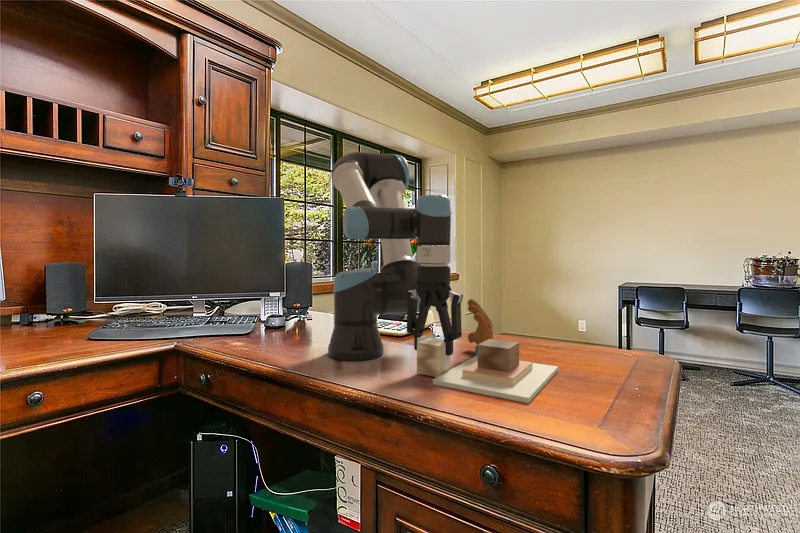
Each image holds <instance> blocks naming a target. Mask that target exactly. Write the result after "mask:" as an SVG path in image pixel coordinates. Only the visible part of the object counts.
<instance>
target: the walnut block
mask: <svg viewBox="0 0 800 533" xmlns="http://www.w3.org/2000/svg"><path fill="white" fill-rule="evenodd" d="M477 346H478V368H484V369H491V370H497V371H503V372H510V371H511V370H513V369H514V368H515V367H517V366H518V365H519V360H520V342H519V341H510V340H501V339H495V338H493V339H488V340H486V341H484V342H482V343H480V344H478V345H477Z"/></svg>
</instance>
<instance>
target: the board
mask: <svg viewBox="0 0 800 533" xmlns="http://www.w3.org/2000/svg"><path fill="white" fill-rule="evenodd" d="M558 372H559V366H557V365H550V364H545V363H537V362H532V361H527V360H526V361H525V360H520V359H519V365H518V366H517V367H515V368H514V369H513V370H511V371H510V372H503V371H497V370H491V369H484V368H478V355H474V356H473V357H471V358H469V359H467V360H466V361H464V362H462V363H461V364H458V365H457V366H455V367H453V368H450V370H449V371H447V372H445V373H444V374H442V375H440V376H438V377H434V378H433V379H432V385H435V386H440V387H445V388H449V389H455V390H460V391H466V392H471V393H474V394H475V393H476V394H480V395H486V396H491V397H496V398H501V399H506V400H511V401H514V402H520V403H525V404H529V403H530V402H531V401H532V400H533V399H534V398H535V397H536V396H537V394H538V393H539V392H540V391H541V390H542V389H543V388H544V387H545V386H546V385H547V384H548V382H550V380H551V379H553V377H554V376H555V375H556V374H557V373H558Z"/></svg>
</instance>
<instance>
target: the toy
mask: <svg viewBox="0 0 800 533" xmlns="http://www.w3.org/2000/svg"><path fill="white" fill-rule="evenodd" d="M467 305H468V308H467V310H468V311H469V312H470V313H472V315H473V319H474V320H475V321H476V322H477V327H476V329H475V331H472V332H469V333H468V334H467V339H468V342H469V343H470V344H472V343H475V345H476V346H475V347H474V354H475V355H474V356H476V355H478V344H480V343H482V342H484V341H486V340H488V339H494V333H493V332H494V331H493V330H494V326H493V321H492V320H491V319H490V317H489V316H488V315H487V313H486V312H485V310H484V309H483V307H482V306H481V305H480V304H479V303H478V302H477V301H476V300H474V299H473V298H471V299H470V298H469V299H468V300H467Z"/></svg>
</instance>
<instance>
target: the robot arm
mask: <svg viewBox="0 0 800 533" xmlns="http://www.w3.org/2000/svg"><path fill="white" fill-rule="evenodd" d="M330 177H331V181H332V184H333V186H334V187H335V189H336V190H337V191H339V194H340V196H341V198H342V200H343V203H344V206H345V208H344V210H343V217H342V229H343V234H344V236H345V237H346V238H347V239H351V240H352V239H354V240H360V241H361V240H380V242H381V249H382V256H383V257H382V258H383V265H382V266H381V267H380V269H379V272H378V270H377V268H376V267H366V268H365V267H364V268H356V269H349V270H345V271H340V272H337V273H336V274H335V276H334V277H333V278H334V279H333V289H332V293H333V320H334V322H333V330H332V333H331V336H330V341H329V344H328V346H327V356H328V357H329V358H331V359H333V360H338V361H346V362H348V361H349V362H350V361H352V362H356V361H358V362H359V361H368V360H373V359H377V358H380V357H381V356H383V355H384V353H385V352H384V349H385V347H384V343H383V341H382V338H381V335H380V334H381V333H380V331H379V327H378V315H397V314H398V315H399V314H406V333H407V334H410V335H412V336H413V337H414V338H413V339H414V341H413V346H414V348H413V349H414V350H415V351H417V342H420V341H422V340H425V339H427V336H426V335H424V334H425V332H424V331H425V328H426V327H425V326H426V323H427V319H428V315H429V311H430V309H431V308H432V307H434V308H435V310H436V312H437V316H438V318H439V321H440V326H441V330H442V334H443V338H444V339H442V340H443V341H441V370H442V371H445V370H447V369H449V368H450V369H451V367H450V366H451V356H453V354H454V340H458V339H460V338H462V334H463V333H462V331H463V330H462V305H461V304H462V301H463V297H464V295H463V294H462V293H456V292H455V291H453V290H452V288H451V267H450V266H449V264H450V263H451V220H452V210H451V199H450V198H449V196H446V195H442V194H426V195H425V194H424V195H421V196H419V197H417V201H416V206H415V208H411V207H409V208H407V207H406V208H405V205H404V199H403V195H404V194H405V193H406V190H407V189H408V187H409V184H410V179H411V178H410V168H409V164H408V161H407V160H406V158H405V157H404V156H403V155H401V154H400V155H399V154H396V153H391V152H390V153H379V152H378V153H376V152H375V153H374V152H364V151H354V152H349V153H347V154H345V155H343V156H341V157H340V158H339V159H337V161H336V162H334V165H333V167H332V168H331V176H330ZM414 240H416V260H414V256H413V250H412V244H411V241H414ZM449 298H450V300H449V301H450V302H451V304H450V313H449V306H448V303H447V301H448V299H449ZM449 314H451V317H450V315H449ZM450 318H451V319H450Z"/></svg>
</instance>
